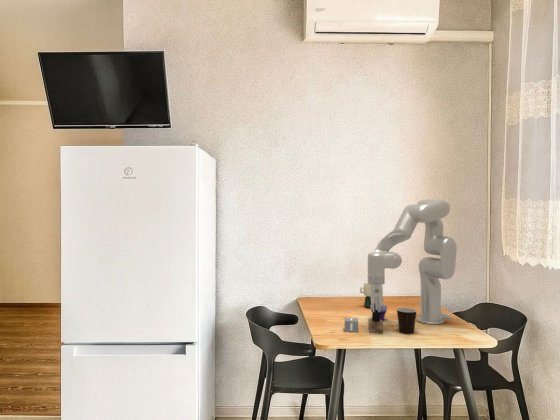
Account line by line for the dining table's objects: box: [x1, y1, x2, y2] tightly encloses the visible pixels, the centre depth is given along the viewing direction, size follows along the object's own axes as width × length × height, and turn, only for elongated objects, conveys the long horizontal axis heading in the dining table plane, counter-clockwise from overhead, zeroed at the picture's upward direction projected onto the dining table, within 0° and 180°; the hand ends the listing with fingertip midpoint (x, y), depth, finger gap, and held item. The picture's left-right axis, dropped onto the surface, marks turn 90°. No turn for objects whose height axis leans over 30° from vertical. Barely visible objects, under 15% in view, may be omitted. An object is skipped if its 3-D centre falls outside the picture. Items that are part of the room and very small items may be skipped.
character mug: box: [359, 282, 371, 309], centre depth 250 cm, size 11×7×13 cm, turn 88°
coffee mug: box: [396, 307, 417, 335], centre depth 200 cm, size 12×9×10 cm
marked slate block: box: [344, 317, 359, 333], centre depth 204 cm, size 6×6×5 cm
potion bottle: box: [370, 303, 388, 322], centre depth 224 cm, size 9×9×12 cm
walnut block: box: [367, 318, 384, 335], centre depth 202 cm, size 6×6×5 cm
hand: (375, 320), depth 202 cm, fingers closed
